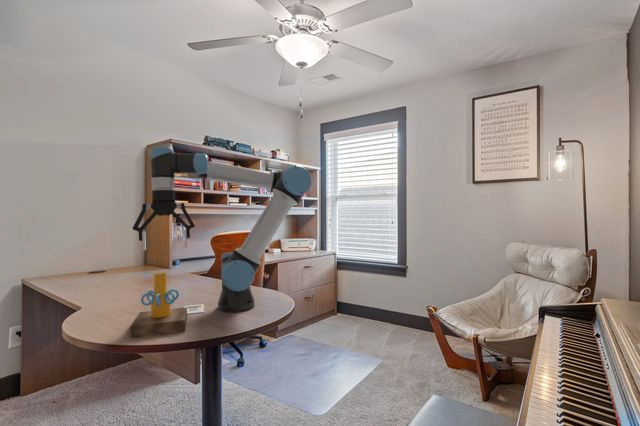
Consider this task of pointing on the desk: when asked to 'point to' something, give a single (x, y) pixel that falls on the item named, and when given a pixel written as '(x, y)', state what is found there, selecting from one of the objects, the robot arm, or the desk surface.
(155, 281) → the yellow post with rings
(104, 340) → the desk surface
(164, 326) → the base block
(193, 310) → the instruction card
